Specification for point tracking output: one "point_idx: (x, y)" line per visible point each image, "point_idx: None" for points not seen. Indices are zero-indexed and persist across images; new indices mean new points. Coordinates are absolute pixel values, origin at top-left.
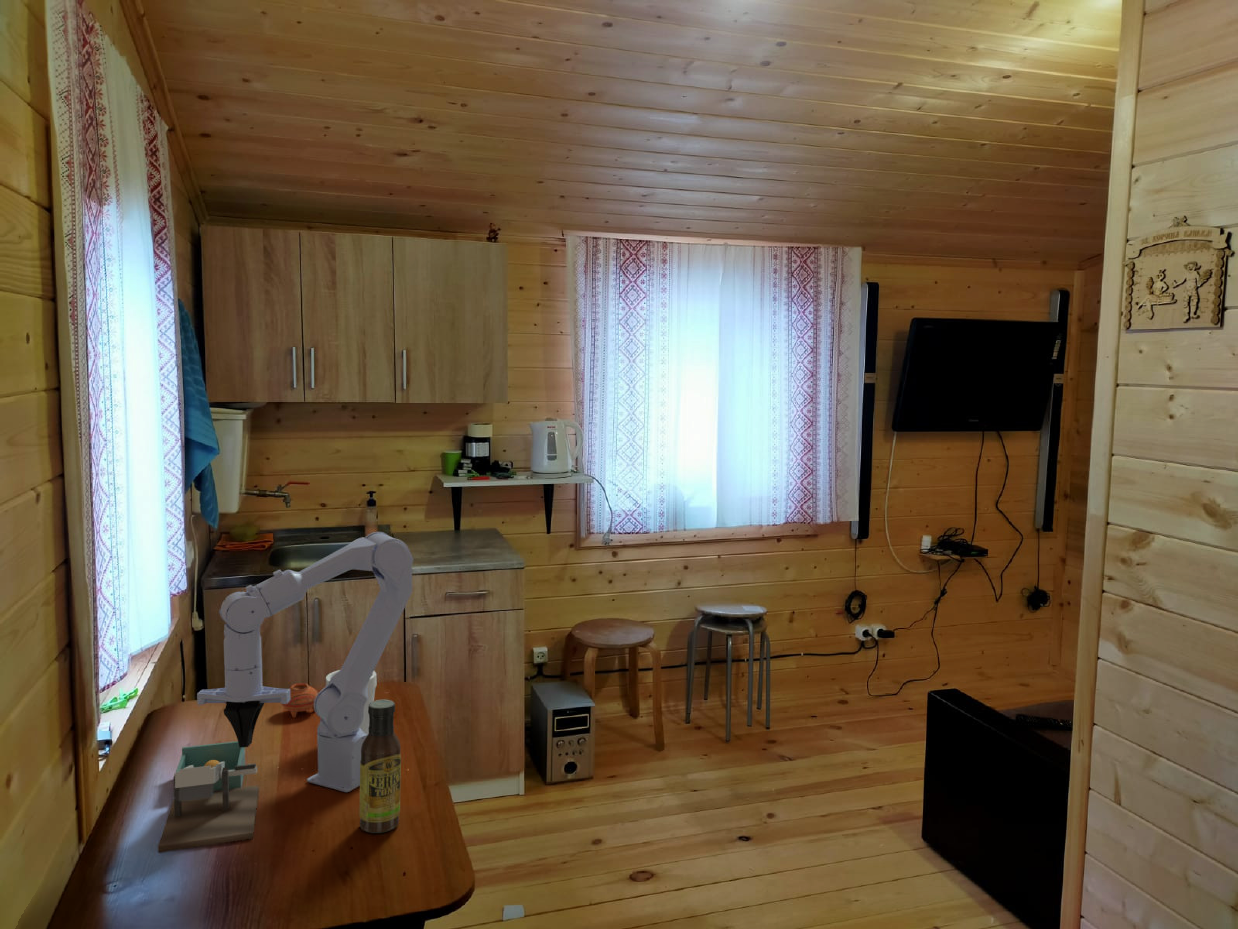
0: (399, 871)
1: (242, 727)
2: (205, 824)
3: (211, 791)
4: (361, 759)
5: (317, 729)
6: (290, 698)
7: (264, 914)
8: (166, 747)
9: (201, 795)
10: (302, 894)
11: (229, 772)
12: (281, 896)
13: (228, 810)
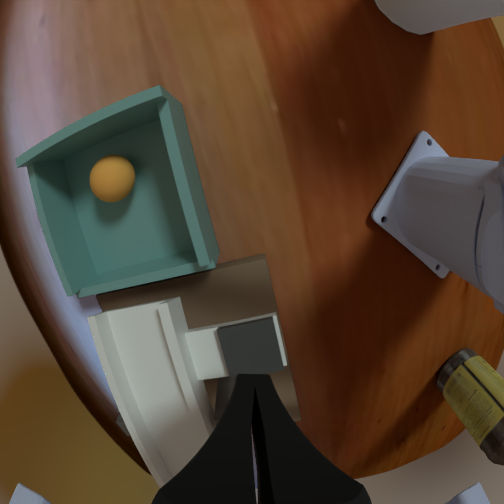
0: (441, 426)
1: (257, 479)
2: (214, 402)
3: None
4: (484, 446)
5: (481, 255)
6: (481, 488)
7: None
8: (13, 45)
9: None
10: (362, 464)
11: (218, 376)
12: (344, 468)
13: None
